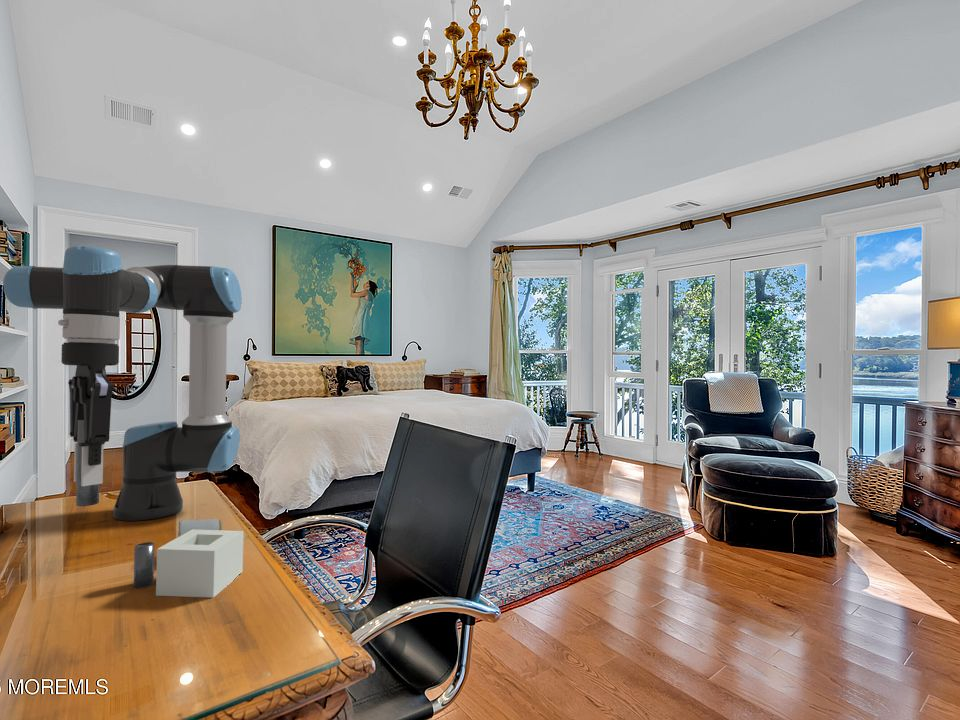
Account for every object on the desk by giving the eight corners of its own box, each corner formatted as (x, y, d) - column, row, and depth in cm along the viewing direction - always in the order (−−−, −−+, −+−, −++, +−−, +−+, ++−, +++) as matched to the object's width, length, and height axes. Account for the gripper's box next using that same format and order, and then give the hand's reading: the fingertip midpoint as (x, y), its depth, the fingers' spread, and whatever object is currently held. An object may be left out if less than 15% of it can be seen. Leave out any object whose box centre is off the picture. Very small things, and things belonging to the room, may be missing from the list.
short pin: (141, 580, 91) (142, 542, 91) (157, 580, 91) (158, 542, 91) (129, 587, 88) (130, 548, 88) (145, 588, 88) (147, 548, 88)
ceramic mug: (223, 558, 102) (224, 520, 102) (176, 566, 97) (177, 526, 98) (219, 542, 111) (220, 508, 111) (176, 549, 106) (177, 513, 107)
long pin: (86, 500, 84) (87, 418, 84) (103, 501, 84) (105, 418, 84) (71, 506, 81) (72, 420, 81) (89, 506, 81) (90, 421, 81)
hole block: (191, 571, 95) (192, 529, 95) (242, 572, 95) (243, 531, 95) (155, 595, 85) (157, 549, 85) (213, 597, 85) (214, 550, 85)
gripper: (48, 340, 84) (45, 478, 85) (79, 340, 75) (75, 496, 75) (101, 342, 91) (98, 471, 91) (136, 342, 81) (133, 486, 81)
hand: (88, 482), depth 83 cm, fingers closed on long pin, 3 cm apart
